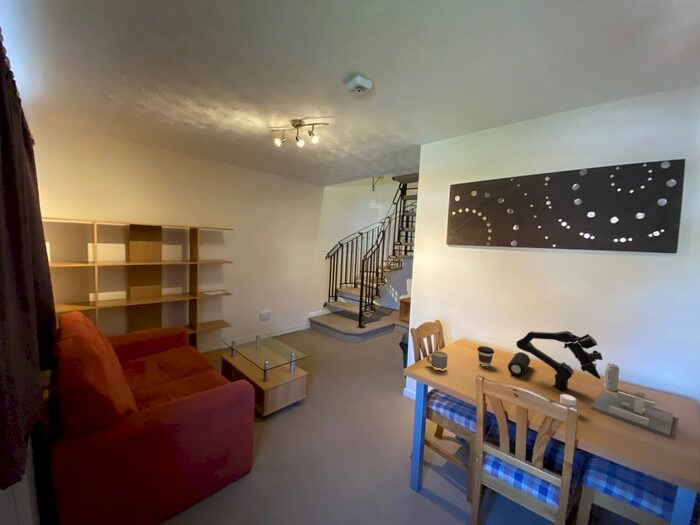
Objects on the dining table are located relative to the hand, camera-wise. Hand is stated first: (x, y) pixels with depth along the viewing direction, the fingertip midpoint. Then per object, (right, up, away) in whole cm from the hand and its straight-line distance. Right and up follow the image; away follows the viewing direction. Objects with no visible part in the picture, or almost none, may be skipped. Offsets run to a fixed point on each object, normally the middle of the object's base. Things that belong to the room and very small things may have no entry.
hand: (599, 378), depth 159 cm
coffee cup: (-44, -8, +43) cm, 62 cm away
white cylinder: (-25, -13, -10) cm, 30 cm away
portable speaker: (-24, -10, +36) cm, 45 cm away
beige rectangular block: (+9, -12, -12) cm, 19 cm away
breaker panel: (+8, -14, -10) cm, 19 cm away
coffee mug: (-80, -8, +37) cm, 88 cm away
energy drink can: (+19, -12, +15) cm, 27 cm away
